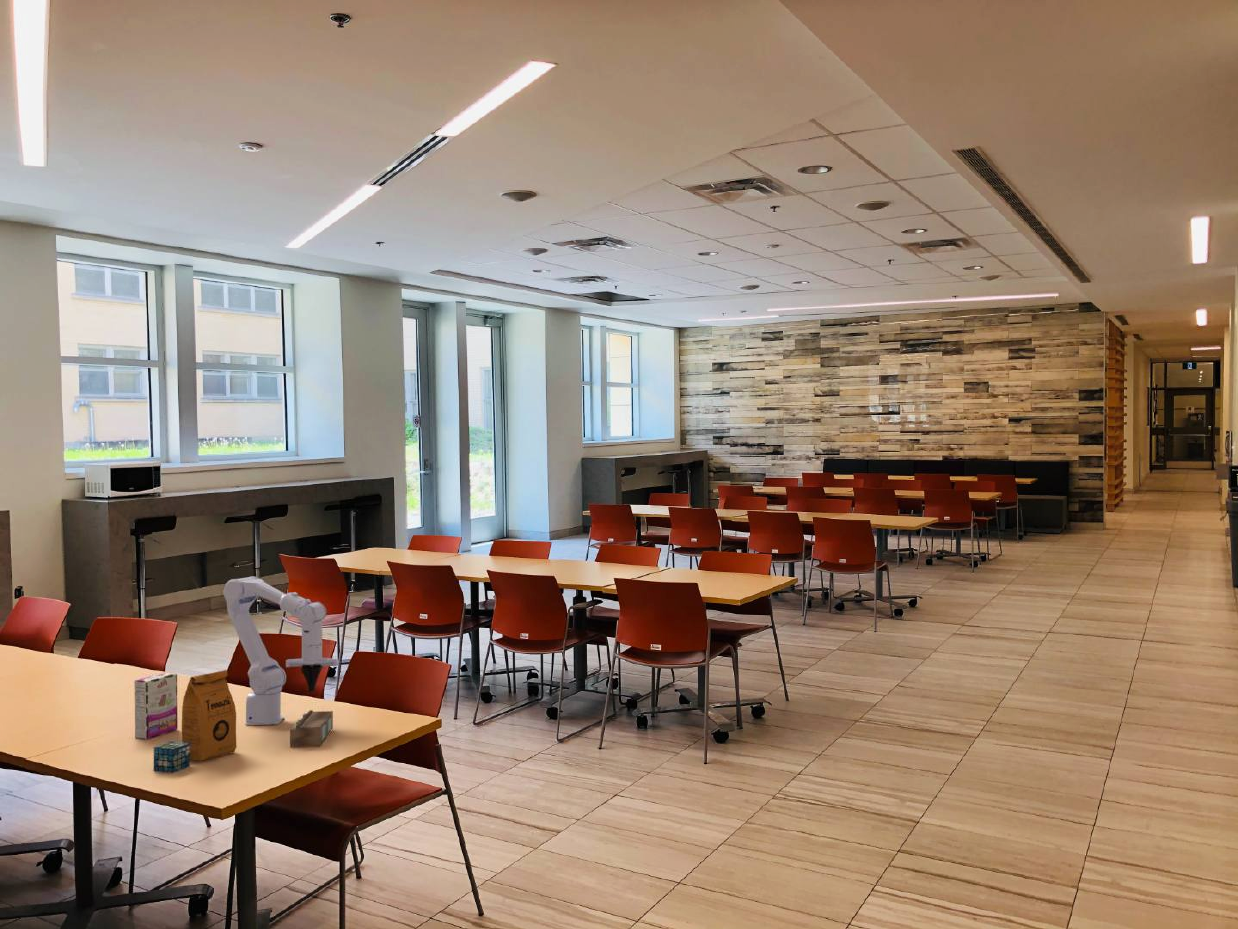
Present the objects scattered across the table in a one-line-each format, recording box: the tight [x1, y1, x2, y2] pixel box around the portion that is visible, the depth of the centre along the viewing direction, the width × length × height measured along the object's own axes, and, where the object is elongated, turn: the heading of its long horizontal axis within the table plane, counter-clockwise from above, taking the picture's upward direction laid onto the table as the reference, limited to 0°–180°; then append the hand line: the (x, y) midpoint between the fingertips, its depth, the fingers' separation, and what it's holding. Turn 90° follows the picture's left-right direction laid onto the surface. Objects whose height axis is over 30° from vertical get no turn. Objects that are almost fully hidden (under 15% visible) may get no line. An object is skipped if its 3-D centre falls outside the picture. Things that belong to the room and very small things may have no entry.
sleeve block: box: [289, 709, 334, 748], centre depth 270 cm, size 8×17×6 cm, turn 5°
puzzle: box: [153, 740, 191, 774], centre depth 242 cm, size 6×6×6 cm
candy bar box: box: [134, 672, 178, 740], centre depth 274 cm, size 11×5×16 cm, turn 160°
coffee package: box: [181, 669, 238, 761], centre depth 253 cm, size 10×12×22 cm
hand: (312, 690), depth 283 cm, fingers closed
